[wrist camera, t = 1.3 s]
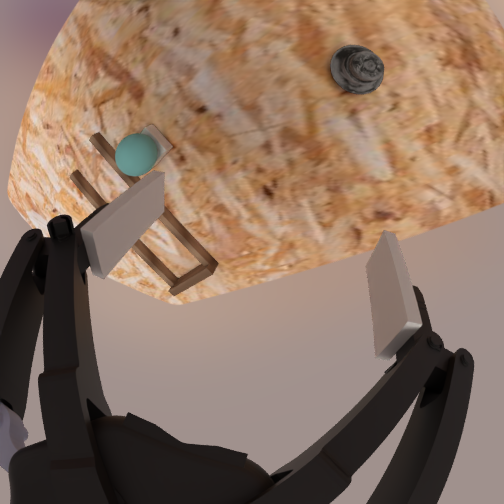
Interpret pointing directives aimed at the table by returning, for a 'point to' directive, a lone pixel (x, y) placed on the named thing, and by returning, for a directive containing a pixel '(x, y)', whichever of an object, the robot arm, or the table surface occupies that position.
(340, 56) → the dark grey chess piece
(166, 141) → the white square frame
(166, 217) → the lane
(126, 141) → the ball
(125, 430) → the robot arm
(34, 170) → the table surface
